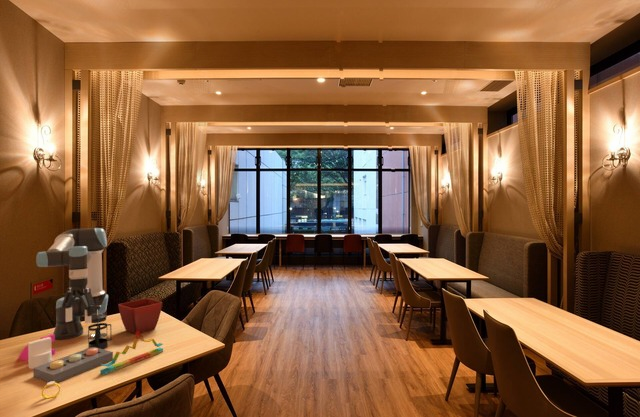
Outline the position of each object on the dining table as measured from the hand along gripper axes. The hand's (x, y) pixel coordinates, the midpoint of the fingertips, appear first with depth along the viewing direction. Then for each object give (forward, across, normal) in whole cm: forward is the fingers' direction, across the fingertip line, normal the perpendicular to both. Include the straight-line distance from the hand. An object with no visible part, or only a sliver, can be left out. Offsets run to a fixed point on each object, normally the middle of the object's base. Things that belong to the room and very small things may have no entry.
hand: (78, 322), depth 172 cm
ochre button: (+19, -2, -9) cm, 21 cm away
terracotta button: (+18, 0, +7) cm, 20 cm away
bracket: (+20, -34, +2) cm, 40 cm away
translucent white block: (+21, -22, -4) cm, 30 cm away
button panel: (+22, -1, -1) cm, 22 cm away
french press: (+20, -14, +22) cm, 33 cm away
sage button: (+19, -1, -1) cm, 19 cm away
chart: (+22, +20, +14) cm, 33 cm away
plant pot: (+19, -16, +51) cm, 56 cm away
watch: (+24, +16, -22) cm, 36 cm away
